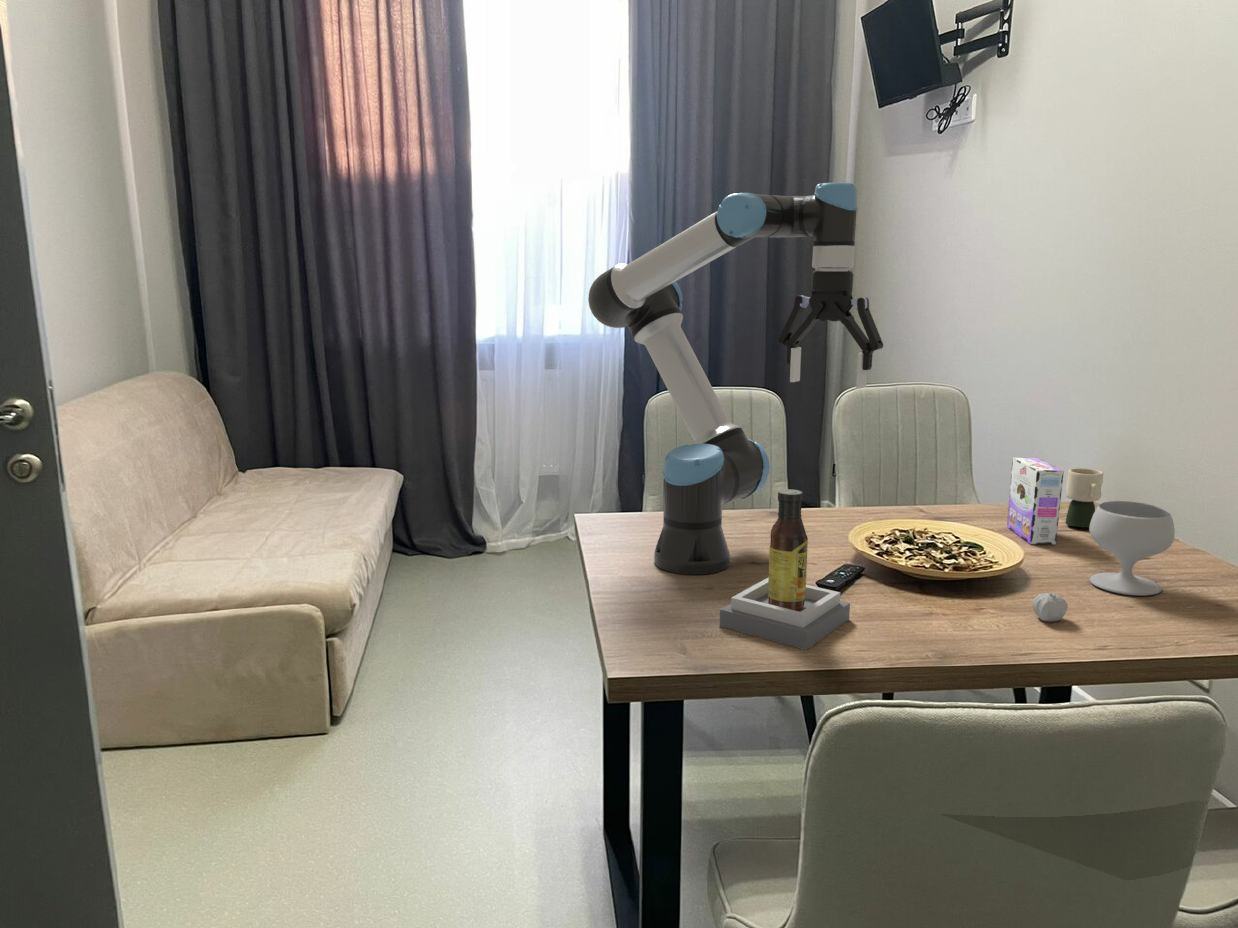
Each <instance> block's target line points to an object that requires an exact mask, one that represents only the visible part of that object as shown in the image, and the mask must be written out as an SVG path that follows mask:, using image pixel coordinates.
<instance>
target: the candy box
mask: <svg viewBox="0 0 1238 928" xmlns="http://www.w3.org/2000/svg"><path fill="white" fill-rule="evenodd" d="M1011 461H1012V462H1011V471H1010V483H1009V484H1010V485H1009V496H1008V497H1009V499H1008V508H1007V509H1008V512H1007V524H1006V528H1007V527H1008V528H1007V529H1009V528H1010V529H1011V530H1010V529H1009V530H1010V531H1012V532H1013V531H1014V532H1015V533H1014V532H1013V533H1014V534H1016V533H1017V534H1018V535H1019V537H1020V538H1021V539H1022V540H1024V541H1026V542H1027V543H1028V544H1030V545H1047V546H1048V545H1053V546H1055V545H1057V537H1058V529H1059V528H1058V527H1059V519H1060V517H1059V516H1060V510H1061V509H1060V508H1061V499H1062V491H1063V483H1064V482H1063V479H1064V472H1065V471H1064V470H1062V469H1060V468H1058V467H1056V466H1055V465H1052V464H1050V463H1048V462H1046V461H1044V460H1042V459H1040V458H1038V457H1012V460H1011ZM1017 534H1016V535H1017ZM1018 535H1017V536H1018Z"/></svg>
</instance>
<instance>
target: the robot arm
mask: <svg viewBox="0 0 1238 928" xmlns="http://www.w3.org/2000/svg"><path fill="white" fill-rule="evenodd" d="M857 192H858V190H857V186H856V185H855V184H854V183H850V182H824V183H823V182H821V183H818V184H816V186H815V189H814V192H813V194H812V195H811V194H810V195H778V194H775V195H773V194H763V193H762V194H759V193H752V192H746V191H745V192H739V193H731V194H729V195H727V196H726V197H725V198H723V199H722V201H721V203H720V204H719V206H718V208H717V211H715V212H713V213H712V214H710V215H708V216H706V217H705V218H703V219H701V220H700V221H698V222H696V223H695V224H693V225H691V226H690V227H688V228H687V229H685V230H683V231H682V232H680V233H678V234H676V235H675V236H673V237H671V238H670V239H668V240H666V241H665V242H663V243H662V244H660V245H658V246H657V247H655V248H653V249H651V250H649V251H648V252H645V253H644V254H642V255H641V256H640V257H638V258H636V259H635V260H632V261H631V262H629V263H628V264H627V263H624V262H623V263H622V262H621V263H618V264H616V265H614V266H612V267H611V268H609V269H608V270H606V271H605V272H603V273H601V274H600V275H598V276H597V278H595V280H593V283H591V286H590V289H589V290H588V291H589V292H588V297H587V301H588V305H589V306H588V307H589V309H590V311H591V314H592V315H593V317H594V318H595V319H596V321H598V322H599V323H601V324H602V325H605V326H606V327H609V328H614V329H618V328H619V329H621V328H622V329H623V328H628V330H629V332H630V334H631V336H632V338H633V341H635V343H637V344H641V345H644V346H645V348H646V350H647V352H648V353H649V355H650V357H651V360H652V361H653V364H654V365H655V367H656V369H657V371H658V373H659V375H660V378H661V379H662V381H663V383H664V385H665V387H666V389H667V391H668V393H669V395H670V396H671V399H672V400H673V402H674V404H675V407H676V409H677V411H678V412H679V415H680V416H681V419H682V420H683V423H684V424H685V426H686V429H687V430H688V432H689V434H690V436H691V438H692V439H693V443H691V444H684V445H680V446H677V447H674V448H673V449H670V450H669V451H668V453H667V454H665V457H664V464H663V470H662V477H663V523H662V524H663V525H662V528H661V532H660V534H659V538H658V540H657V543H656V546H655V548H654V554H653V555H654V557H653V558H654V559H653V560H654V561H653V562H654V564H655V566H656V567H658V568H660V569H661V570H664V571H667V572H669V573H673V574H674V573H675V574H680V575H681V574H682V575H706V574H714V573H718V572H721V571H725V569H727V568H728V567H729V566H730V563H731V562H730V558H731V557H730V556H731V553H730V550H729V548H728V543H727V540H726V536H725V533H724V530H723V526H722V525H723V524H722V523H723V521H722V520H723V505H727V504H729V503H733V502H735V501H738V500H741V499H742V500H743V499H748V498H749V497H750V496H753V495H754V494H756V493H758V492H759V491H761V490H762V489H763V487H764V486H765V485H766V483H767V480H768V476H769V473H770V460H769V456H768V453H767V451H766V450H765V449H764V447H763V446H762V445H761V444H760V443H759V442H756V441H754V440H752V439H748V437H747V435H746V434H745V432H744V430H743V428H742V427H741V426H740V425H737V424H734V423H732V422H731V421H730V419H729V418H728V415H727V413H726V411H725V409H724V407H723V406H722V404H721V401H720V400H719V397H718V396H717V394H716V392H715V390H714V388H713V386H712V385H711V382H710V380H709V379H708V377H707V375H706V373H705V371H704V368H702V365H701V363H700V361H699V360H698V358H697V357H698V356H697V355H696V353H695V352H694V349H693V348H692V345H691V344H690V342H689V340H688V338H687V337H686V334H685V332H684V330H683V328H682V323H683V319H684V315H683V313H682V308H683V304H682V302H683V300H684V299H683V293H682V290H681V288H680V286H679V284H678V283H677V281H679V280H681V279H682V278H684V277H685V276H687V275H689V274H691V273H693V272H695V271H696V270H698V269H701V268H702V267H704V266H705V265H708V264H709V263H711V262H712V261H715V260H717V259H718V258H720V257H721V256H723V255H725V254H727V253H729V252H730V251H732V250H734V249H735V248H737V247H740V246H742V245H743V244H745V243H747V242H749V241H751V240H753V239H754V238H755V239H756V238H770V239H771V238H772V239H781V238H801V237H802V238H812V259H811V267H812V268H813V269H815V270H814V271H812V273H811V281H810V282H811V285H810V288H811V289H810V291H811V294H810V297H809V296H806V295H805V294H804V295H802V294H801V295H796V296H795V297H794V305H793V308H792V311H790V314H789V317H788V319H787V321H786V323H785V325H784V326H783V328H782V330H781V332H780V335H779V336H778V339H777V342H778V344H781V345H783V346H785V347H786V362H787V363H786V364H787V365H790V367H789V368H790V369H789V370H790V371H789V373H790V374H789V382H790V383H796V382H800V381H801V364H802V363H801V362H802V347H800V346H799V344H800V343H801V341H802V340H803V339H804V337H806V335H807V334H808V333H809V332H810V331H811V330H812V329H813V327H814V326H815V325H816V324H817V323H818V322H819V321H821V322H825V321H829V322H840V323H841V324H843V325H844V327H845V328H846V330H847V331H848V332H849V334H850V335H851V336H852V338H853V340H854V341H855V342H856V344H857V345H858V346H859V348H860V349H861V352H858V353H857V364H856V366H857V368H856V369H857V370H856V382H855V383H856V384H855V385H856V387H855V388H856V389H863V388H866V387H867V376H868V375H867V374H868V371H870V370H872V367H873V354H874V352H875V351H878V350H881V349H883V347H884V342H883V341H882V338H881V336H880V333H879V330H878V328H877V325H876V322H875V320H874V318H873V316H872V315H873V314H872V313H871V310H870V300H869V298H868V297H866V296H865V297H858V298H854V297H853V288H854V273H853V271H851V269H853V268H854V267H855V266H854V264H855V245H856V242H855V239H856V238H855V237H856V225H857V224H856V223H857V212H858V209H859V207H858V193H857ZM808 306H810V308H811V309H812V310H811V311H810V313H809V314H808V315H807V316H806V318H805V320H804V321H803V322H802V323H801V325H800V326H799V327H798V328H797V326H798V324H799V322H800V320H801V318H802V317H803V314H804V312H805V309H806V308H807V307H808ZM853 306H854V309H855V310H856V311H857V314H858V316H859V319H860V321H861V324H862V327H863V329H864V331H865V333H864V331H863V330H862V329H861V327H860V326H859V323H857V321H856V320H855V317H854V315H853V314H852V313H851V311H850V310H851V309H852V308H853ZM796 328H797V330H796Z"/></svg>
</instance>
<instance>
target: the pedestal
mask: <svg viewBox="0 0 1238 928" xmlns="http://www.w3.org/2000/svg"><path fill="white" fill-rule="evenodd" d="M768 578H769V576H768V577H767V578H765V579H763V580H762V581H759V582H757V583H756V584H753V585H751V586H749V587H748V588H746V589H744V590H742V591H741V592H739V593H737V594H736V595H733V596H732V597H730V603H729V604H727V605H726V606H724V607H722V608H720V609H719V627H721V628H725V629H727V630H731V631H734V632H735V631H736V632H739V633H743V634H746V635H750V636H754V637H758V638H761V639H764V640H768V641H773V642H775V643H779V644H783V645H787V646H790V647H794V648H796V649H797V648H798V649H801V650H805V651H806V650H808V649H810V648H811V647H813V646H815V644H816V643H818V642H820V641H822V640H823V639H824V638H825V637H827V636H828V635H829V634H831V633H832V632H834V631H835V630H837V629H838V628H840V627H841V626H842V625H844V624H845V623H847V622H848V621H850V610H851V602H847V601H843V600H841V591H837V590H836V591H835V590H831V589H827V588H824V587H823V588H822V587H818V586H813V585H809V584H806V594H805V600H804V606H803V608H802V609H800V610H796V611H795V610H791V609H786V608H782V607H778V606H774V605H770V604H769V603H768V600H769V596H768Z"/></svg>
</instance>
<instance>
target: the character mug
mask: <svg viewBox="0 0 1238 928" xmlns="http://www.w3.org/2000/svg"><path fill="white" fill-rule="evenodd" d="M1103 483H1104V472H1103V471H1101V470H1098V469H1093V468H1087V467H1086V468H1085V467H1077V468H1076V467H1074V468H1069V469H1068V473H1067V481H1066V493H1065V495H1066V498H1068V499H1070V500H1071V501H1070V502H1069V506H1068V509H1067V513H1066V518H1065V522H1064V524H1065V525H1067V526H1071V527H1080V528H1081V529H1082V528H1084V529H1085V528H1088V529H1089V528H1090V523H1091V519H1092V517H1093V514H1094V512H1095V510H1096V505H1095V502H1096V501H1100V499H1101V497H1102V485H1103Z"/></svg>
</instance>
